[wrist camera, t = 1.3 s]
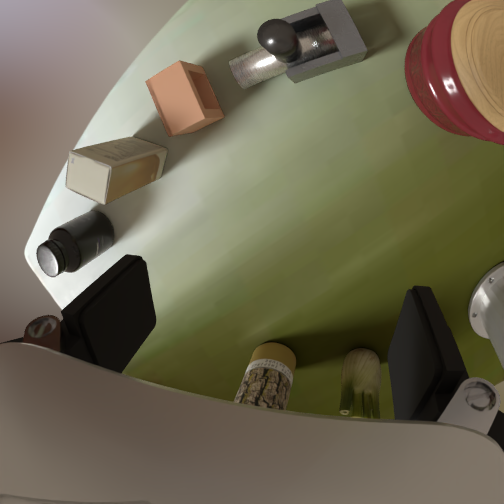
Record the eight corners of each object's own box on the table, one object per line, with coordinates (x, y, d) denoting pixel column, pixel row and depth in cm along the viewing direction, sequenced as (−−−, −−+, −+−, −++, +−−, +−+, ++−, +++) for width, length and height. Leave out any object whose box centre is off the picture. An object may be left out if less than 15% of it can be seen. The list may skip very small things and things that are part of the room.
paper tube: (247, 342, 47) (184, 485, 25) (290, 337, 45) (244, 495, 23) (261, 373, 49) (212, 509, 27) (301, 369, 47) (266, 516, 25)
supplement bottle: (120, 248, 46) (70, 286, 36) (91, 250, 48) (42, 284, 38) (109, 206, 44) (52, 236, 33) (79, 211, 45) (26, 239, 35)
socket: (202, 67, 32) (179, 60, 27) (224, 117, 34) (204, 118, 29) (171, 84, 34) (145, 81, 29) (192, 132, 36) (168, 136, 31)
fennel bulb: (338, 351, 44) (333, 415, 33) (366, 336, 42) (368, 400, 31) (358, 373, 45) (357, 435, 34) (385, 359, 42) (390, 422, 32)
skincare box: (125, 165, 40) (62, 187, 29) (131, 135, 38) (66, 149, 27) (162, 180, 40) (104, 207, 29) (170, 149, 38) (110, 166, 27)
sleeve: (339, 15, 26) (339, -3, 21) (362, 61, 28) (367, 50, 23) (273, 38, 29) (261, 24, 24) (295, 83, 31) (287, 76, 26)
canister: (451, 156, 29) (533, 195, 14) (378, 66, 28) (416, 22, 12) (516, 97, 23) (611, 102, 8) (448, 9, 22) (515, -48, 6)
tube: (335, 25, 26) (335, -6, 18) (349, 52, 27) (354, 29, 19) (236, 63, 31) (202, 47, 22) (248, 90, 32) (218, 82, 23)
